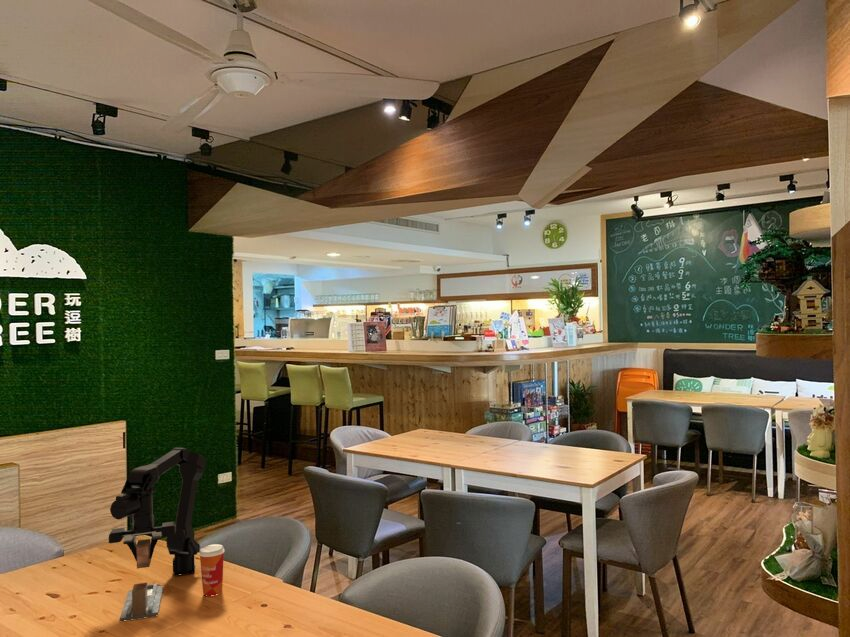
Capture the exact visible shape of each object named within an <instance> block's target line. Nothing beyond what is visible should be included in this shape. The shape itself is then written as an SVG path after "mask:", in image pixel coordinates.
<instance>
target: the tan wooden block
mask: <svg viewBox="0 0 850 637" xmlns="http://www.w3.org/2000/svg"><path fill="white" fill-rule="evenodd" d="M150 546H151V538H147V539H146V538H145V539H139V540H137V542H136V552H137V561H136V569H143V568H150V566H151V562H152V558H151V559H150Z"/></svg>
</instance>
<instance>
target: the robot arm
mask: <svg viewBox="0 0 850 637" xmlns="http://www.w3.org/2000/svg"><path fill="white" fill-rule="evenodd" d="M176 465H177V466H178V467H179V474H180V476H181V479H182V481H181V482H182V483H181V487H180V488H181V490H180V495H179V501H178V506H177V513H176V520H175V521H167V522H162V525H161V526H155V515H154V507H153V505H154V503H153V502H154V501H153V493H155V492H157V491H158V488H157V487H154V486H155V484H156V483H157V482H159V480H160V476H162V475H163V474H164V473H166V472H167V471H169V470H170V469H172V468H174V467H175V466H176ZM206 466H207V458H205V456H204V454H199V453H197V452H194V451H192V450H189V449H188V448H187V447H173V448H172V449H171V450H170V451H169V452H167V453H166V454H164V455H163V456H161V457H159V458H158V459H156V460H154V461H153V462H151V463H149V464H147V465H141V466H138V467H134V468H133V469H132V470H130V472H129V474H128V475H127V477H126V480H125V483H124V485H123V487H122V490H121V492H120V494H119V495H116V496H115V500H114V501H113V502H112V503H111V505H110V508H109V511H110V514H111V517H113V519H115V520H122V519H123V520H124V519H125V518H127V517H129V524H130V525H132V529H129V530H126V527H119V528H112V529H111V531H110V532H109V534H108V544H117V543H121V542H123V543H122V544H123V545H126V546H128V548H129V550H130V551H131V553H132V555H133V557H134V560H135V562H137V552H136V545H137V537H138V536H146V535H151V538H150V542H151V546H150V559H151V560H152V557H153V554H154V550H155V547H156V546H157V543H158V541H160V540H162V538H163V537H166V540H165V542H166V548H167V551H168V554H169V556H171V555H172V556H174V557H173V558H172V573H173V576H174V575H178V576H180V575H179V574H185V575H188V574H187V573H192V574H195V573H194V572H196V565H195V564H196V563H195V562H196V561H195V559H196V558H195V557H196V556H195V555H197V554H199V552H200V549H201V545H200V544H199V543H198V542H197V541H196V539H195V530H194V527H193V525H192V520H193V515H194V509H195V508H194V507H195V503H196V502H195V501H196V494H197V489H198V483H199V480H200V478H202V476H203V475H204V473H205V470H206ZM154 526H155V527H154Z"/></svg>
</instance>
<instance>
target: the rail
mask: <svg viewBox="0 0 850 637" xmlns="http://www.w3.org/2000/svg"><path fill="white" fill-rule="evenodd" d="M163 591H164V585H158V582H156V583H148V582H139V583H135V584H133V586H132V589H130V590H128V591H127V594H126V598H125V601H124V604H123V606H122V607H123V608H122V610H121V614H120V617H119V622H120V621H124V620H130V621H132V620H131V619H136V620H139V619H138V618H142V619H145V618H144V617H148V618H152V617H151V616H154V617H157V616H156V615H158V616H159V614H158V613H159V612H160V608H161V604H162V598H163V597H162V596H163V593H164V592H163ZM162 592H163V593H162ZM161 597H162V598H161ZM124 622H125V621H124Z"/></svg>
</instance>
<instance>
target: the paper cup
mask: <svg viewBox="0 0 850 637" xmlns="http://www.w3.org/2000/svg"><path fill="white" fill-rule="evenodd" d="M225 551H226V550H225V548H224V545H222V544H220V543H219V544H217V543H216V544H215V543H214V544H213V543H212V544H209V545H205V546H203V547H200V550H199V552H198V556H199V561H200V572H201V573H200V575H201V583H202V584H201V586H202V595H203V594H204V595H207V596H211V595H216V594H219V593H221V592H222V593H223V586H224V584H223V583H224V582H223V581H224V580H223V579H224V555H225V554H224V553H225ZM222 593H221V594H222ZM204 595H203V596H204ZM219 595H220V594H219Z"/></svg>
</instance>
